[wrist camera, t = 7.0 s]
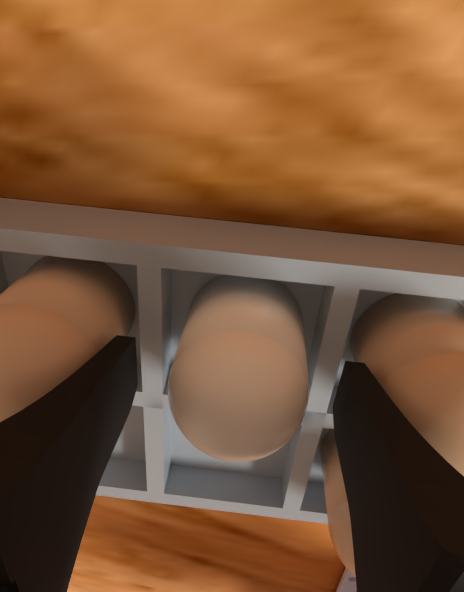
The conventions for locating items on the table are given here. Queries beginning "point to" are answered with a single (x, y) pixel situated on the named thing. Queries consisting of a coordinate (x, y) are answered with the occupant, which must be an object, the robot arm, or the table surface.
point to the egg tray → (172, 316)
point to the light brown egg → (240, 369)
